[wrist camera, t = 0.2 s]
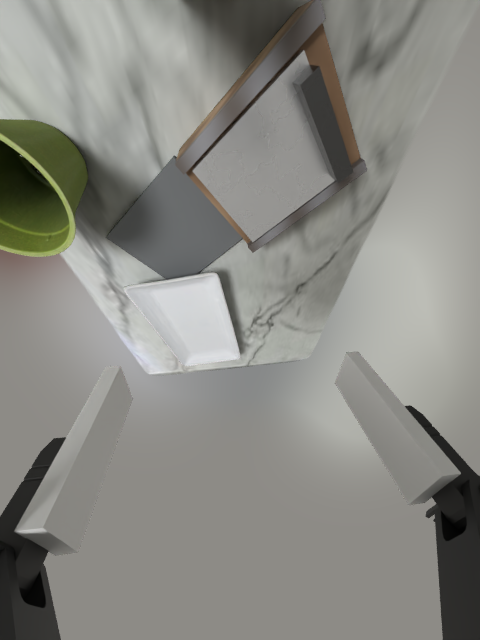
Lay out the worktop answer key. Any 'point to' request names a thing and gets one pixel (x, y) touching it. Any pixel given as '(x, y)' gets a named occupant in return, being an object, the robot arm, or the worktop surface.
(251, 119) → the lid
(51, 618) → the robot arm
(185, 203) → the rubber mat
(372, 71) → the worktop surface
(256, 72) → the walnut box
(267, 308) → the worktop surface
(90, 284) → the worktop surface
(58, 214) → the plant pot
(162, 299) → the tray
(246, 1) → the worktop surface
